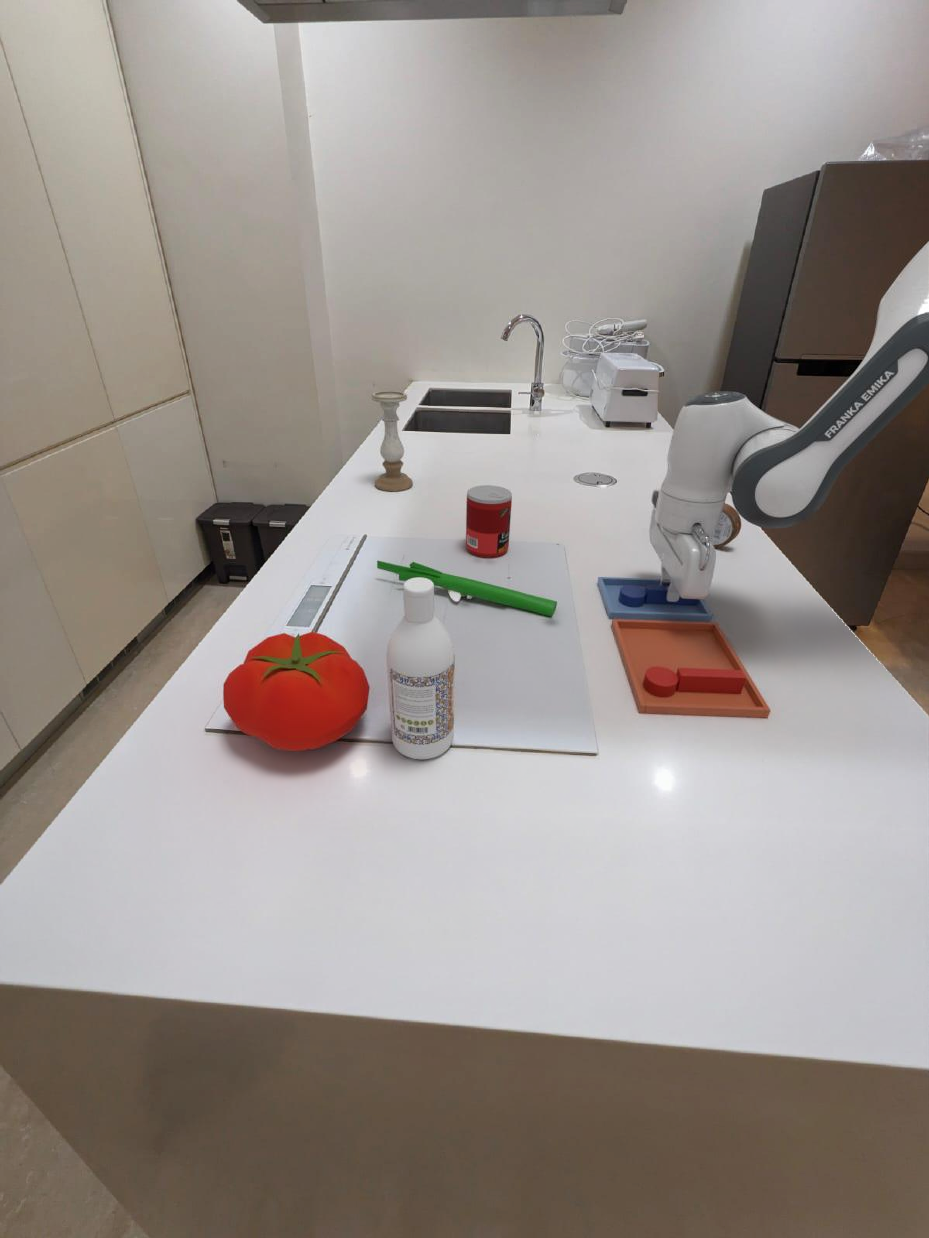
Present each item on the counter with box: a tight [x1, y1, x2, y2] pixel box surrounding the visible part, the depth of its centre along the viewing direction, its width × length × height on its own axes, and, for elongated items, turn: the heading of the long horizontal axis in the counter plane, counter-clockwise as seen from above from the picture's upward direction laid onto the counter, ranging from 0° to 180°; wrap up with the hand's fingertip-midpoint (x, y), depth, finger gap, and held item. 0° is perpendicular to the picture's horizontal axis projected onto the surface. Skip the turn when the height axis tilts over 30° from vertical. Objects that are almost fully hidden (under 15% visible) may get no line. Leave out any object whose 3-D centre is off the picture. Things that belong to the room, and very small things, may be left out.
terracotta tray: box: [610, 619, 771, 719], centre depth 77 cm, size 15×19×2 cm
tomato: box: [222, 631, 370, 752], centre depth 65 cm, size 14×16×10 cm
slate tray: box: [596, 576, 713, 622], centre depth 91 cm, size 15×11×2 cm
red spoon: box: [643, 666, 746, 697], centre depth 73 cm, size 12×4×3 cm, turn 88°
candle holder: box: [371, 390, 414, 492], centre depth 130 cm, size 9×9×20 cm
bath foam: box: [386, 577, 456, 760], centre depth 60 cm, size 7×7×20 cm
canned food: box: [465, 484, 513, 559], centre depth 104 cm, size 8×8×11 cm
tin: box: [707, 502, 742, 548], centre depth 110 cm, size 15×3×8 cm, turn 51°
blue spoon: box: [619, 585, 698, 607], centre depth 91 cm, size 12×4×3 cm, turn 88°
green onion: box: [376, 560, 558, 618], centre depth 91 cm, size 5×3×30 cm
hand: (668, 594), depth 91 cm, fingers closed on blue spoon
